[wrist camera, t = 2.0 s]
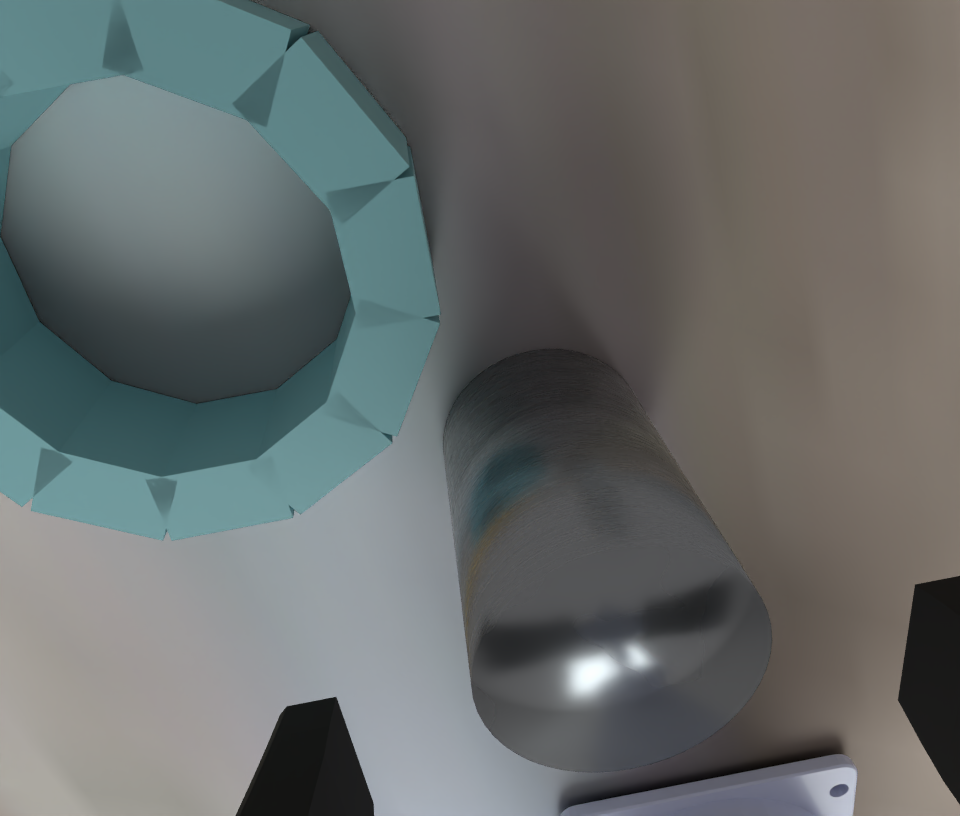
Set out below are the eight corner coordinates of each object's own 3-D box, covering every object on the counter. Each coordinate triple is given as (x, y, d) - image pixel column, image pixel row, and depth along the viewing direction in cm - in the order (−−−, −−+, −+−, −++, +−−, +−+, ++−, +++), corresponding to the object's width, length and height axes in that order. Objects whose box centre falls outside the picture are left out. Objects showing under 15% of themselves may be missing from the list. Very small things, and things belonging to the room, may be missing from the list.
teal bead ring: (461, 412, 15) (473, 483, 13) (48, 490, 15) (-12, 574, 13) (368, -68, 11) (364, -87, 9) (-186, 29, 11) (-329, 36, 9)
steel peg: (647, 504, 16) (768, 741, 11) (461, 539, 16) (495, 795, 11) (635, 331, 15) (775, 518, 9) (425, 370, 14) (446, 581, 9)
